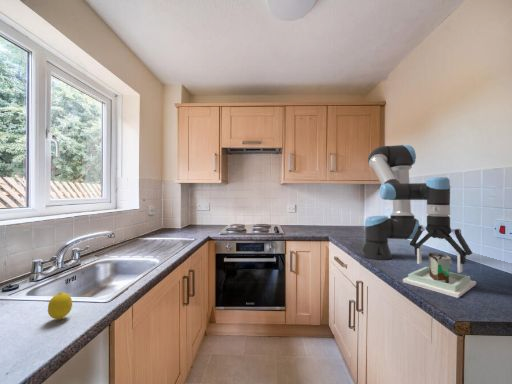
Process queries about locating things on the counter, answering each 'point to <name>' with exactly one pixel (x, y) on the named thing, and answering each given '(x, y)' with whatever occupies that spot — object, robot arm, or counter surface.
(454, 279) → the pocket plate
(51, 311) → the lemon
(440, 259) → the food container
